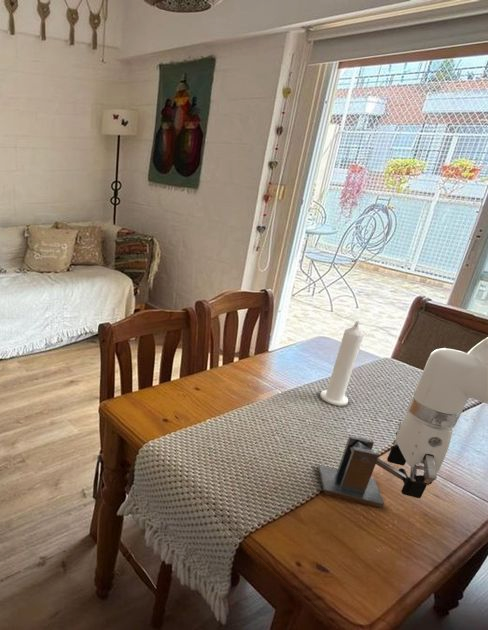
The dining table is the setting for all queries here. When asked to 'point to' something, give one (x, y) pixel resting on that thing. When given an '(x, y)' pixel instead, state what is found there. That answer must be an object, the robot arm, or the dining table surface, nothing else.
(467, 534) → the dining table surface
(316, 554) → the dining table surface
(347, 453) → the press bracket
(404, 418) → the robot arm
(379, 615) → the dining table surface
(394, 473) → the press lever
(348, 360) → the candle
